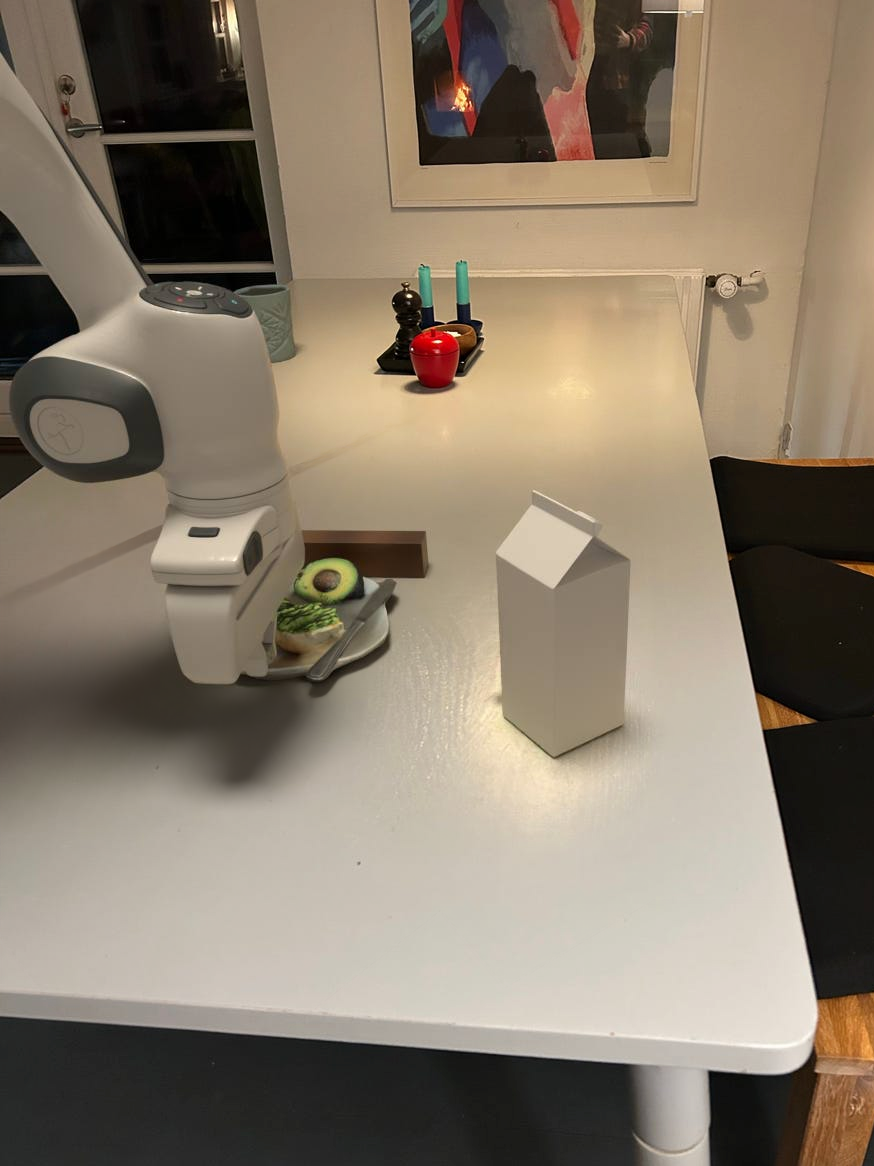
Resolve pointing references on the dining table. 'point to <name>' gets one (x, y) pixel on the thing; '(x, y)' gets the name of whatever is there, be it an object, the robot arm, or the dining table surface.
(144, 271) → the robot arm
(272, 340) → the drinking glass
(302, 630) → the salad plate
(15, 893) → the dining table surface
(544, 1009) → the dining table surface
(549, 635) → the milk carton
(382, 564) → the rail
